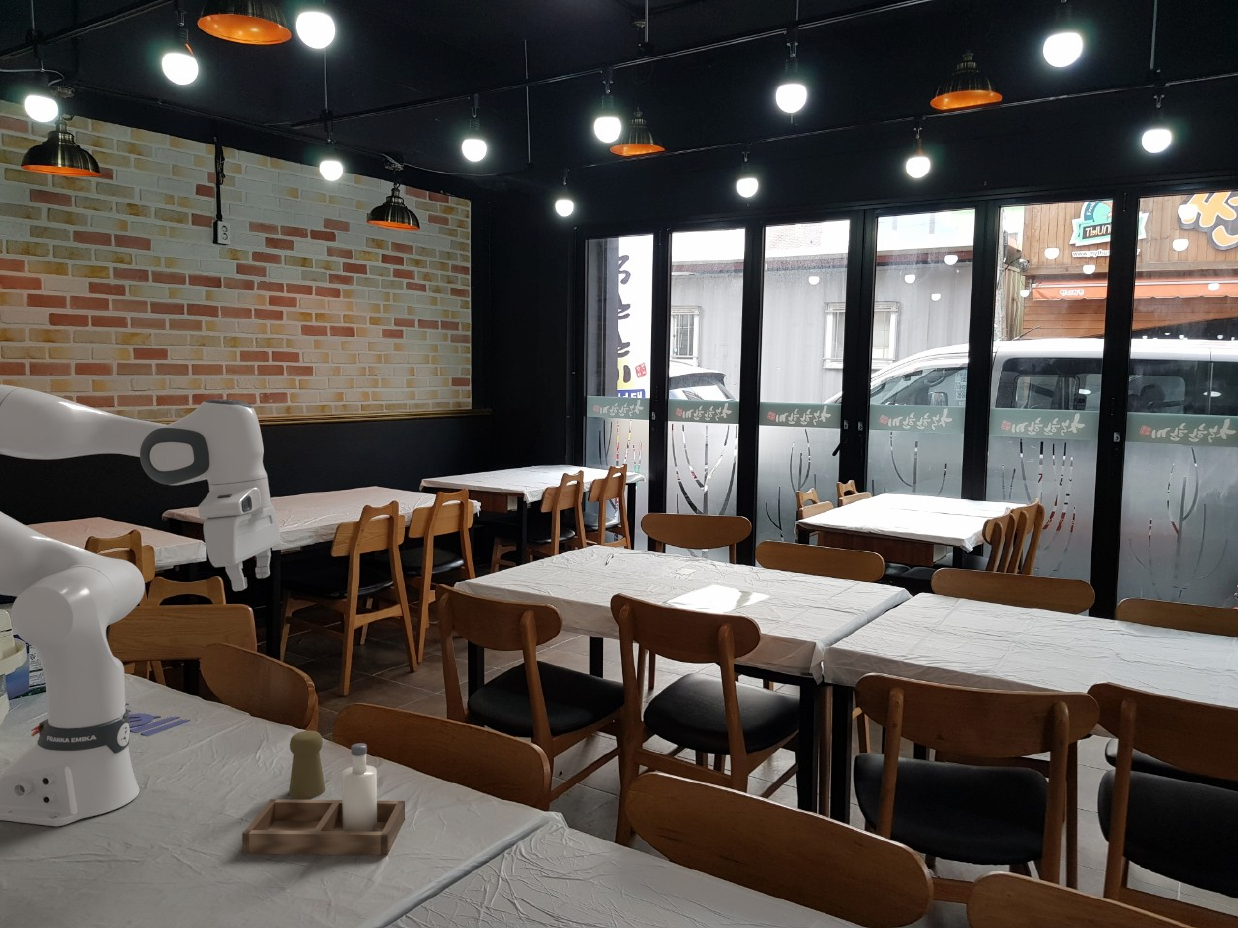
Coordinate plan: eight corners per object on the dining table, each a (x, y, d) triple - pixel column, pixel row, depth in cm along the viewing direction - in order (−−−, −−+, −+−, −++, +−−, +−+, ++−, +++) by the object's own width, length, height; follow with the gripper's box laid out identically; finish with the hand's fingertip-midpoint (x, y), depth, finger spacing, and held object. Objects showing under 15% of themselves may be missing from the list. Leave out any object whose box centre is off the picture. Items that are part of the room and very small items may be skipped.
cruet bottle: (338, 843, 137) (337, 752, 135) (348, 827, 142) (347, 739, 140) (372, 844, 137) (371, 752, 135) (381, 828, 142) (380, 739, 140)
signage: (56, 709, 192) (102, 696, 201) (56, 713, 192) (102, 699, 201) (145, 734, 179) (190, 719, 188) (145, 738, 179) (190, 722, 188)
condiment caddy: (242, 859, 134) (242, 833, 133) (271, 823, 145) (270, 799, 144) (387, 861, 134) (387, 834, 133) (405, 825, 145) (404, 800, 144)
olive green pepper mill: (314, 806, 150) (313, 741, 150) (280, 803, 152) (279, 738, 151) (333, 791, 156) (332, 728, 155) (300, 787, 158) (299, 725, 157)
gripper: (247, 493, 158) (257, 572, 160) (192, 509, 138) (205, 599, 139) (283, 489, 158) (294, 568, 160) (234, 505, 138) (246, 595, 139)
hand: (252, 583), depth 149 cm, fingers open, 8 cm apart
